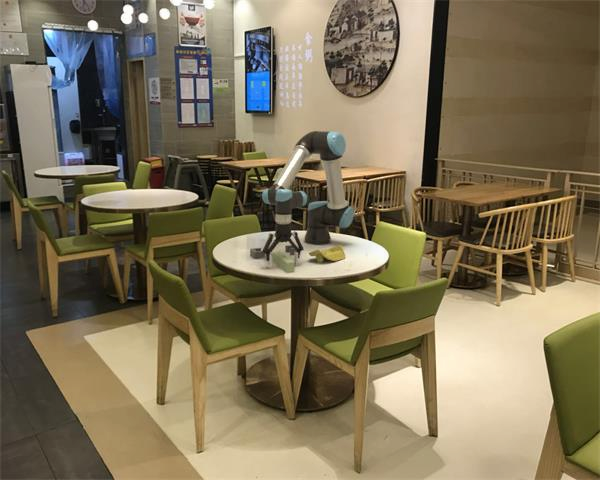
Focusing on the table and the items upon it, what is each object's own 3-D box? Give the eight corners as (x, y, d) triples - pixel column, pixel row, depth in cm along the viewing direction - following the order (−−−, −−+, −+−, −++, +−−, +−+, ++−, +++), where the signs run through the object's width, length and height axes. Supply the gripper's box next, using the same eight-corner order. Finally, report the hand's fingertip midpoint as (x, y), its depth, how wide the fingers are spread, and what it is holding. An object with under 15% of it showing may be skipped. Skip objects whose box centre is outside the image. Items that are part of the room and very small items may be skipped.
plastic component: (327, 249, 270) (342, 244, 264) (331, 263, 270) (346, 258, 264) (304, 254, 255) (320, 248, 249) (309, 268, 254) (324, 263, 248)
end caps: (294, 251, 275) (295, 244, 274) (300, 254, 269) (300, 248, 268) (250, 255, 265) (250, 248, 265) (254, 258, 259) (254, 252, 258)
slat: (272, 262, 255) (272, 252, 254) (279, 261, 256) (279, 251, 255) (287, 273, 237) (287, 262, 236) (294, 272, 239) (294, 262, 237)
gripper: (260, 225, 233) (260, 270, 238) (311, 222, 243) (309, 265, 248) (255, 222, 240) (255, 266, 245) (304, 219, 250) (303, 261, 255)
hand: (282, 266), depth 247 cm, fingers open, 13 cm apart
